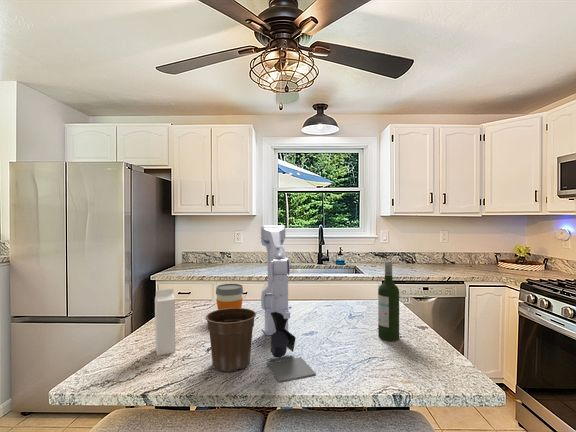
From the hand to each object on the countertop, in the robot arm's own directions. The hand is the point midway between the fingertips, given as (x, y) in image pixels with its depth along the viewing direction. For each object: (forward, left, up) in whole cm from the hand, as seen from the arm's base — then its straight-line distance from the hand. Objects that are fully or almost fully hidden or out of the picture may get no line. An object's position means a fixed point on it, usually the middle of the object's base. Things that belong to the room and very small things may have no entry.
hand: (280, 334), depth 111 cm
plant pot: (+16, -1, -8) cm, 18 cm away
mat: (0, +10, -8) cm, 12 cm away
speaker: (0, -1, -7) cm, 7 cm away
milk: (+37, -19, -8) cm, 42 cm away
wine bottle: (-45, 0, -8) cm, 46 cm away
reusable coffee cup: (+9, -46, -8) cm, 48 cm away
